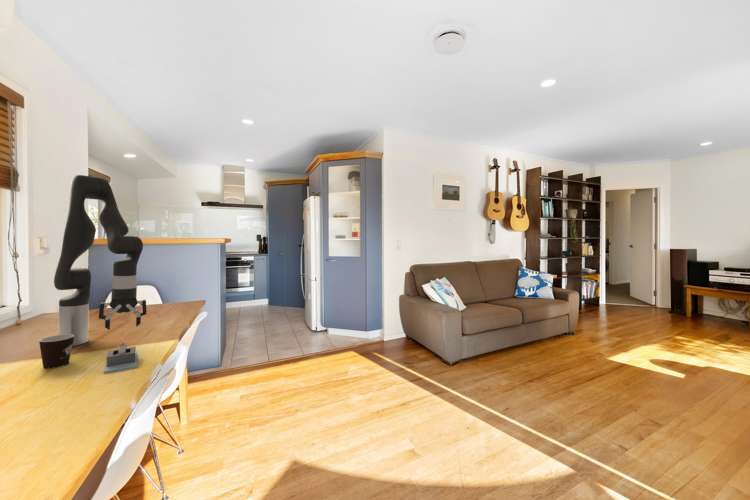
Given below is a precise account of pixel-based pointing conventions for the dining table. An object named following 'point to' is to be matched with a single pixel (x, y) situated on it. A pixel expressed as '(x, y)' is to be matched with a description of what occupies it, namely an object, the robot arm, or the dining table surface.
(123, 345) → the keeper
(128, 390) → the dining table surface
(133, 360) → the end link
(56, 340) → the coffee mug
